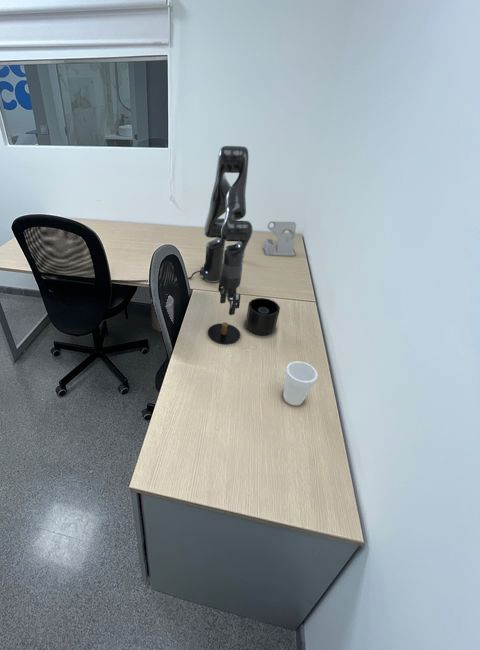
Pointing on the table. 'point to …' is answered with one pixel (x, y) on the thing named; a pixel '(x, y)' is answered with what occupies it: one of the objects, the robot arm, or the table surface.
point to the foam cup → (298, 382)
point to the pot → (262, 317)
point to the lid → (224, 333)
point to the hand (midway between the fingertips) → (227, 308)
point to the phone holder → (281, 239)
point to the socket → (263, 310)
